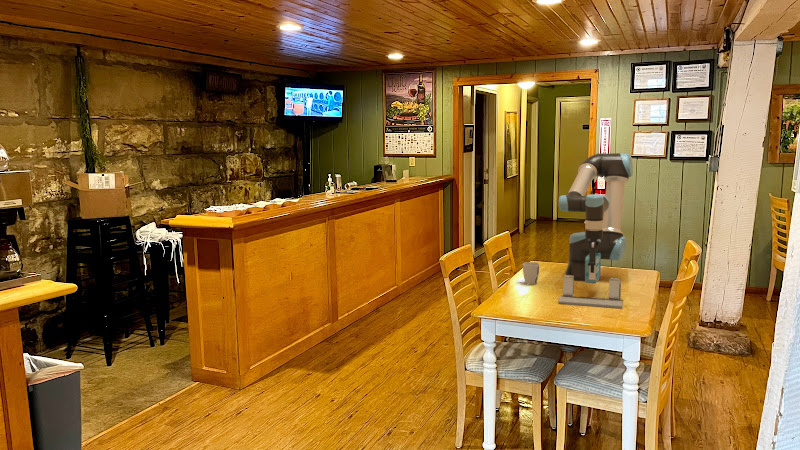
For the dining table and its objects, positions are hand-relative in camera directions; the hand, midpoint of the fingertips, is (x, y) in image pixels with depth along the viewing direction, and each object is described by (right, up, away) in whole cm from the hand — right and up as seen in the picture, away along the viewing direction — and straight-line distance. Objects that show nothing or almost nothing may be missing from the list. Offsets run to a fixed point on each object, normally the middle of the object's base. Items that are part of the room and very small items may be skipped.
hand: (593, 275), depth 273 cm
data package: (0, -2, 0) cm, 3 cm away
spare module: (+8, -10, -6) cm, 14 cm away
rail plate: (-5, -11, -11) cm, 16 cm away
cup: (-23, -6, +25) cm, 34 cm away
